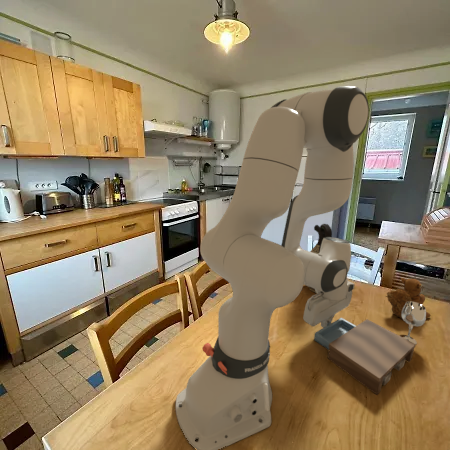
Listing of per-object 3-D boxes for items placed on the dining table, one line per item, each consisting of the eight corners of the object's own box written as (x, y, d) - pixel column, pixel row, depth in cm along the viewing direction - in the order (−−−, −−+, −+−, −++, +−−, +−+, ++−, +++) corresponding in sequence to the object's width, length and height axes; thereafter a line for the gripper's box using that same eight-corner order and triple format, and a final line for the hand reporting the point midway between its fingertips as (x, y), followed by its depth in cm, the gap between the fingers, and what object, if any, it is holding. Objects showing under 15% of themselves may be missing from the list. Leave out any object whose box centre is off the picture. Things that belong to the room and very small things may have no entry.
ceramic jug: (296, 280, 112) (301, 217, 105) (329, 281, 112) (337, 218, 104) (306, 300, 96) (314, 227, 88) (346, 301, 95) (356, 228, 88)
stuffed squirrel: (432, 317, 86) (440, 284, 82) (406, 327, 81) (414, 291, 77) (403, 302, 95) (409, 272, 91) (378, 310, 90) (384, 278, 86)
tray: (375, 383, 60) (377, 375, 59) (313, 339, 74) (314, 332, 74) (400, 359, 67) (402, 351, 67) (340, 324, 82) (341, 317, 81)
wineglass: (423, 348, 71) (432, 312, 68) (401, 345, 72) (409, 310, 69) (413, 334, 77) (420, 301, 74) (393, 332, 78) (400, 299, 75)
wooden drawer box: (376, 395, 56) (379, 378, 55) (326, 359, 67) (328, 343, 66) (412, 359, 67) (415, 344, 66) (364, 332, 78) (367, 319, 76)
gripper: (318, 303, 66) (314, 345, 70) (357, 282, 78) (351, 320, 81) (300, 293, 72) (296, 332, 75) (339, 275, 83) (334, 310, 86)
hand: (325, 325), depth 78 cm, fingers closed, pressing on tray
